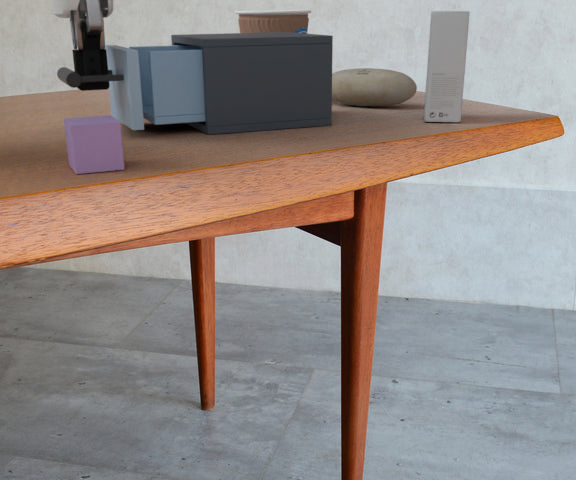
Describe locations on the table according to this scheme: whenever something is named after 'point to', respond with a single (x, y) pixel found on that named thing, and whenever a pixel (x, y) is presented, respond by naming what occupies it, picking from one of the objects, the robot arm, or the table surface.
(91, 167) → the cube
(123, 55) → the drawer
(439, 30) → the cosmetic box
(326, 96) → the cabinet
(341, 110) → the table surface
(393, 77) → the stone
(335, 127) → the table surface
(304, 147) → the table surface
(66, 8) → the robot arm
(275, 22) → the coffee cup
